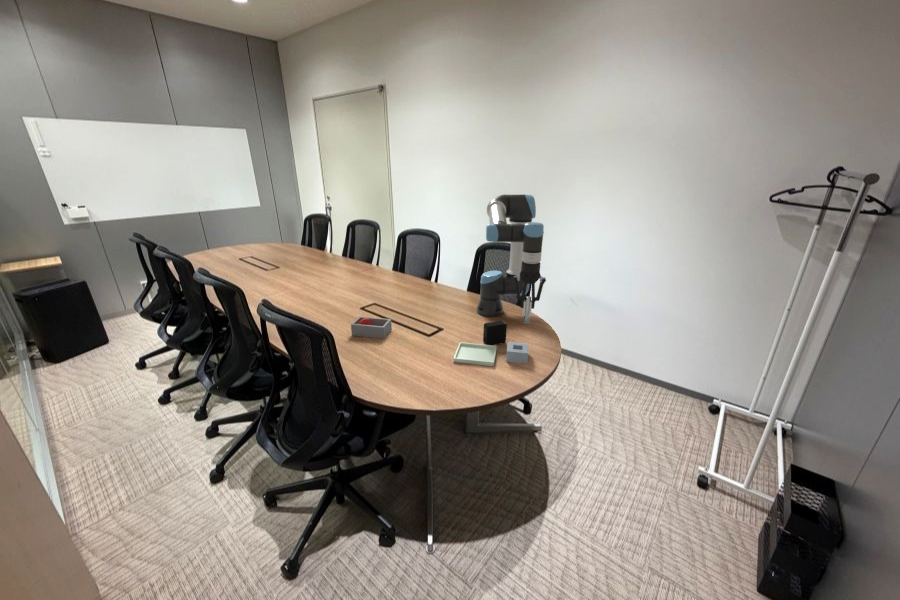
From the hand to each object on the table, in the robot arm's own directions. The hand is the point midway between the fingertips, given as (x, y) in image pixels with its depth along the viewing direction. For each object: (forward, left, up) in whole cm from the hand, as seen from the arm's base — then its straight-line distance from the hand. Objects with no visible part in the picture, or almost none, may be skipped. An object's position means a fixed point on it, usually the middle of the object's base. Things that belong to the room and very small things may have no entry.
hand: (526, 314), depth 156 cm
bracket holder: (-6, -75, -19) cm, 77 cm away
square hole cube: (+4, -3, -19) cm, 19 cm away
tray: (+6, -21, -19) cm, 29 cm away
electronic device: (-8, -14, -19) cm, 25 cm away
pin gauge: (0, 0, -4) cm, 4 cm away
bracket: (-6, -75, -20) cm, 78 cm away
